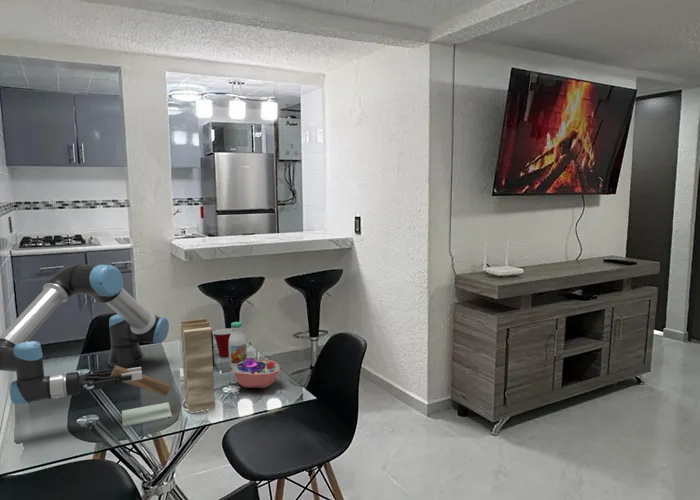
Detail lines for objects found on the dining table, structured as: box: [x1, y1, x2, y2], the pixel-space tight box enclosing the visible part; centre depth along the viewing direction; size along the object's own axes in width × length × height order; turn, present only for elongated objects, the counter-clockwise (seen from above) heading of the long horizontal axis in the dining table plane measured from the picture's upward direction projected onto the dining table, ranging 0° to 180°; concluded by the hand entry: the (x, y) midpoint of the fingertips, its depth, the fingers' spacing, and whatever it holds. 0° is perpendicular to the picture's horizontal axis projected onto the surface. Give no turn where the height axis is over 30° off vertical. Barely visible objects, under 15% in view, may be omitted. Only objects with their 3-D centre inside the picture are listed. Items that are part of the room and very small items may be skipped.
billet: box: [111, 365, 172, 397], centre depth 181 cm, size 4×20×4 cm, turn 115°
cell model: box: [231, 357, 281, 389], centre depth 207 cm, size 17×20×11 cm
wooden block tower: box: [180, 317, 216, 414], centre depth 189 cm, size 12×9×32 cm
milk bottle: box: [228, 321, 248, 370], centre depth 228 cm, size 8×8×20 cm
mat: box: [121, 401, 173, 428], centre depth 184 cm, size 12×16×1 cm
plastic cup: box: [212, 328, 232, 358], centre depth 244 cm, size 11×11×12 cm
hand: (141, 372), depth 181 cm, fingers closed on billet, 3 cm apart
